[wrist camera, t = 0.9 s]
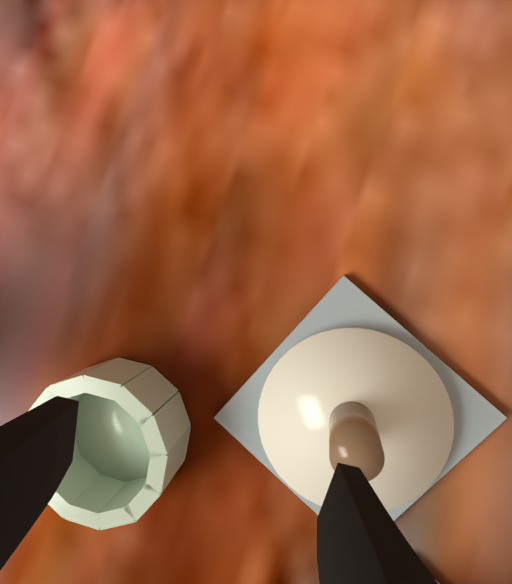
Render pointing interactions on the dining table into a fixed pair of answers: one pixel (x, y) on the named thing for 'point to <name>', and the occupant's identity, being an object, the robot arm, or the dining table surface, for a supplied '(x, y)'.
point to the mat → (366, 313)
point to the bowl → (119, 442)
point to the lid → (356, 415)
